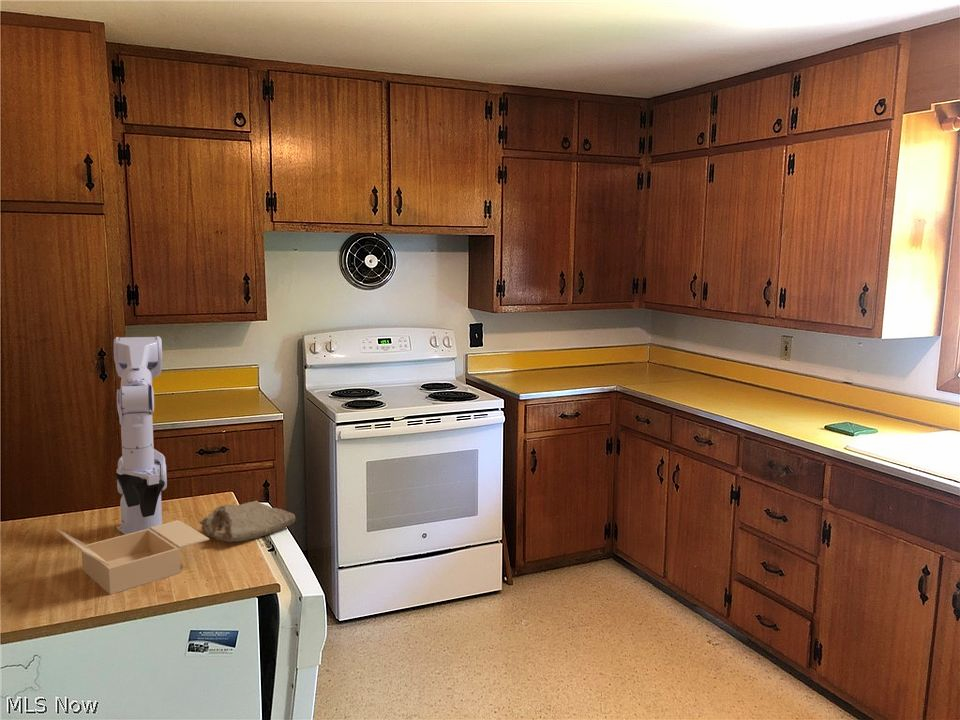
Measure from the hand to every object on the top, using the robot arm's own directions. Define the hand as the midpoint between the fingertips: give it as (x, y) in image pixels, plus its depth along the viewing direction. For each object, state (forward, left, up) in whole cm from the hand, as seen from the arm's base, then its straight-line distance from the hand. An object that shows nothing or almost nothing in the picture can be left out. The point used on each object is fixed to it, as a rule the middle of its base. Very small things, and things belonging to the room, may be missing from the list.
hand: (140, 510), depth 147 cm
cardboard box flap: (+4, -12, -3) cm, 13 cm away
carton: (+4, -1, -10) cm, 11 cm away
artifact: (0, +22, -11) cm, 25 cm away
